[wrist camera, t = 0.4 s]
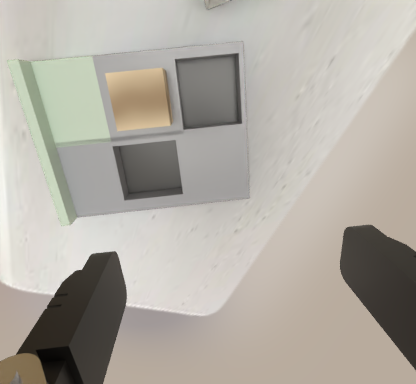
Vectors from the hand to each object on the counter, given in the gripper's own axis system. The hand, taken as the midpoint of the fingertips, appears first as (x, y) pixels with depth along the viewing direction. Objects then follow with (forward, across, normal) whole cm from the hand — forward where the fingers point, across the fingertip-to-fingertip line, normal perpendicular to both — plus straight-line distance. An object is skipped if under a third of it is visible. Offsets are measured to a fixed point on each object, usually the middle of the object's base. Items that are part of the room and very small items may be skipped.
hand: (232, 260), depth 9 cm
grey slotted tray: (+24, +6, -1) cm, 25 cm away
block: (+22, +6, -5) cm, 23 cm away
